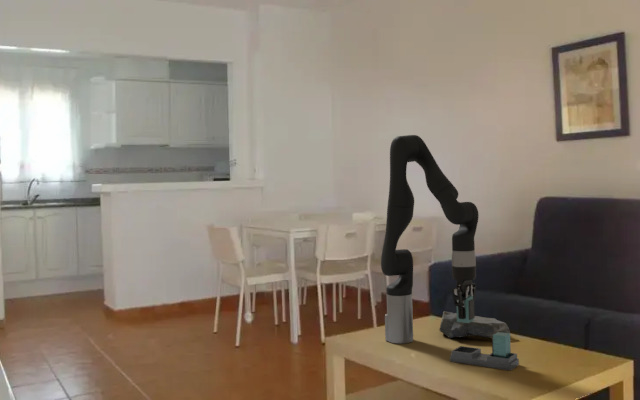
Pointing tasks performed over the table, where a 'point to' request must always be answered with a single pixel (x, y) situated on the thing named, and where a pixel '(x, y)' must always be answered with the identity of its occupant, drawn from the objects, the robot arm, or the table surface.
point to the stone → (471, 326)
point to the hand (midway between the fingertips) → (465, 317)
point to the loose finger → (468, 311)
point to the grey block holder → (496, 359)
